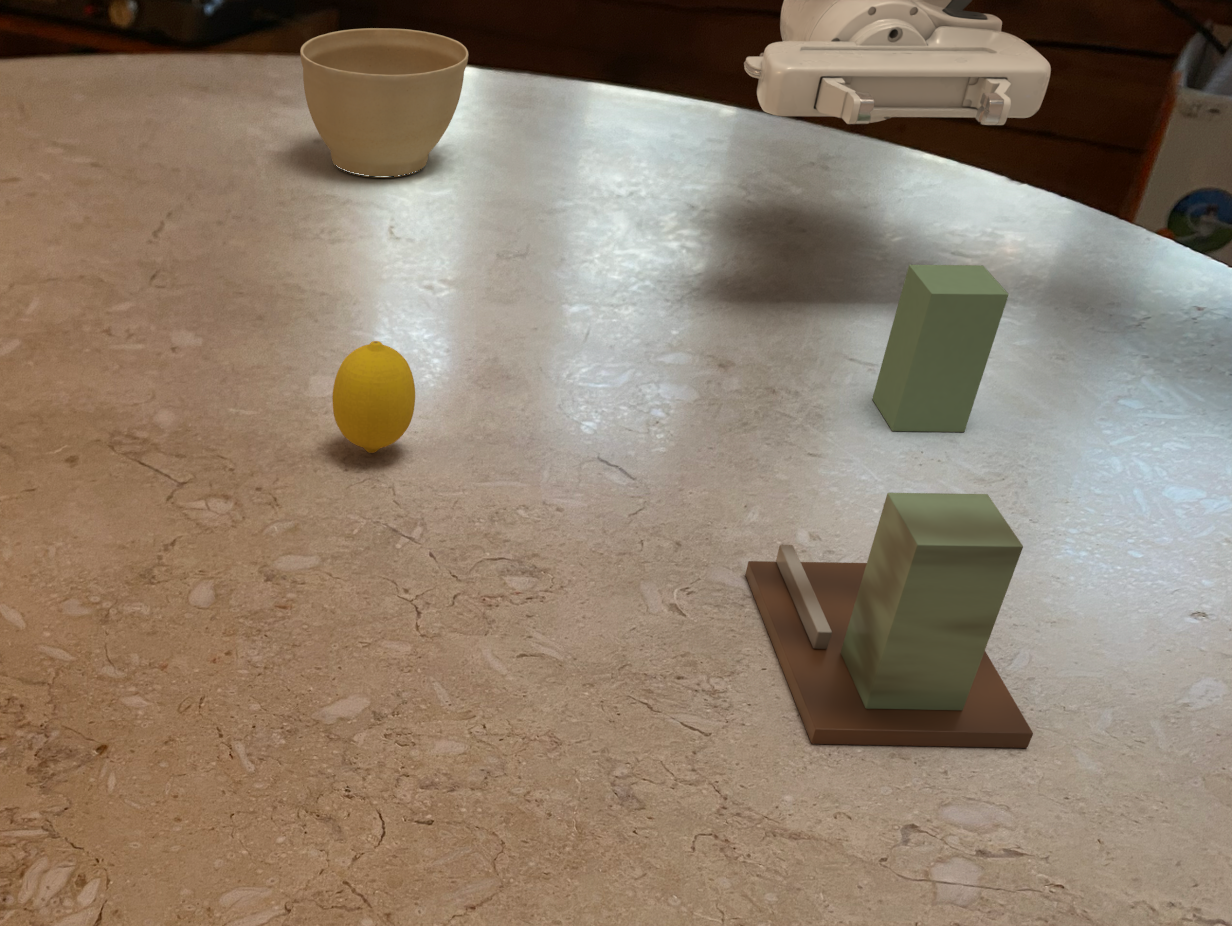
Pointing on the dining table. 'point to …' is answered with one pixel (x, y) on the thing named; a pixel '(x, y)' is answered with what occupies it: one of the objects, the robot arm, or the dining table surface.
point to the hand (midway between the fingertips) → (929, 113)
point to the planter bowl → (382, 95)
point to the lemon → (373, 396)
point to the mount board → (837, 689)
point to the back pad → (938, 347)
